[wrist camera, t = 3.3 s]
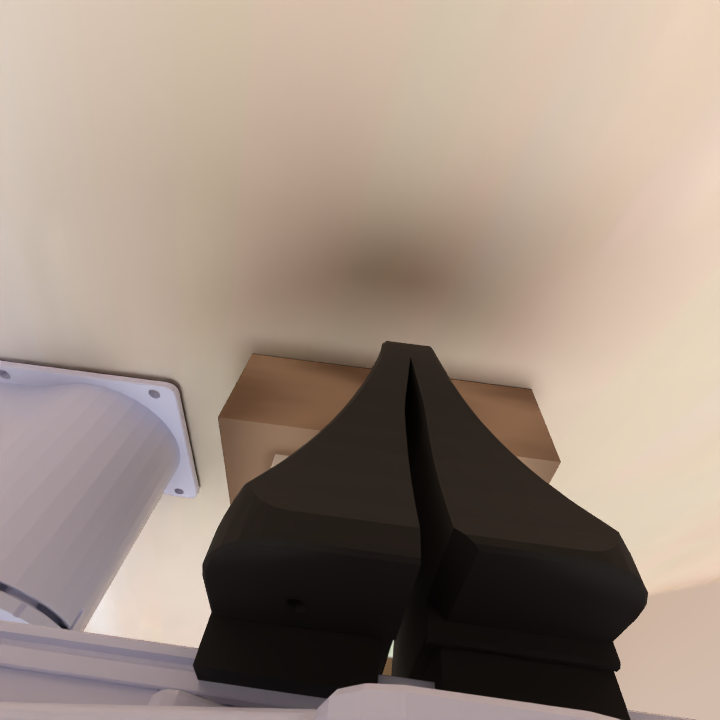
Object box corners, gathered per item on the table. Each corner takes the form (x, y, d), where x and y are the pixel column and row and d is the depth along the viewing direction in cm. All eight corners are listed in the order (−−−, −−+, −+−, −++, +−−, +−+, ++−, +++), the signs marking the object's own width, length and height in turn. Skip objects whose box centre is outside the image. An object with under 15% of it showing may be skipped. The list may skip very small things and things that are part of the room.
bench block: (263, 514, 24) (241, 582, 21) (252, 353, 18) (218, 417, 14) (466, 542, 24) (476, 615, 21) (531, 389, 18) (560, 461, 14)
